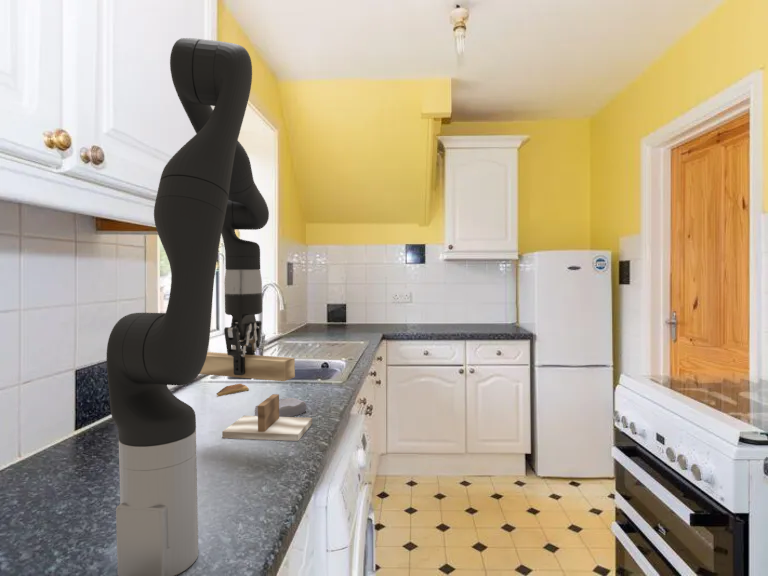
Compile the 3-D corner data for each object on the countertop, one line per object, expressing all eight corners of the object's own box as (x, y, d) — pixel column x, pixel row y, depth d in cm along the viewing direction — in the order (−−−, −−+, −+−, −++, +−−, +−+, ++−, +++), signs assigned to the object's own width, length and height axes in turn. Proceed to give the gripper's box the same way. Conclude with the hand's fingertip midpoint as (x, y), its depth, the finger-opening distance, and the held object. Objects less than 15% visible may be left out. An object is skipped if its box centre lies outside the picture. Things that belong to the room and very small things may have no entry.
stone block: (251, 424, 125) (276, 423, 119) (249, 405, 126) (273, 404, 120) (285, 414, 135) (310, 413, 129) (283, 397, 135) (307, 395, 130)
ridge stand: (298, 441, 107) (297, 408, 107) (222, 438, 110) (221, 405, 109) (312, 423, 119) (311, 394, 119) (243, 421, 121) (243, 392, 121)
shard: (216, 398, 145) (216, 392, 145) (206, 393, 151) (206, 388, 151) (249, 392, 152) (249, 386, 152) (239, 387, 158) (239, 382, 158)
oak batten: (284, 381, 94) (283, 361, 94) (196, 373, 102) (195, 355, 102) (294, 377, 98) (294, 357, 98) (209, 369, 106) (208, 352, 106)
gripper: (246, 293, 92) (248, 380, 93) (272, 290, 106) (273, 365, 107) (210, 293, 93) (211, 379, 93) (240, 289, 107) (241, 365, 108)
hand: (244, 371), depth 100 cm, fingers closed on oak batten, 4 cm apart
